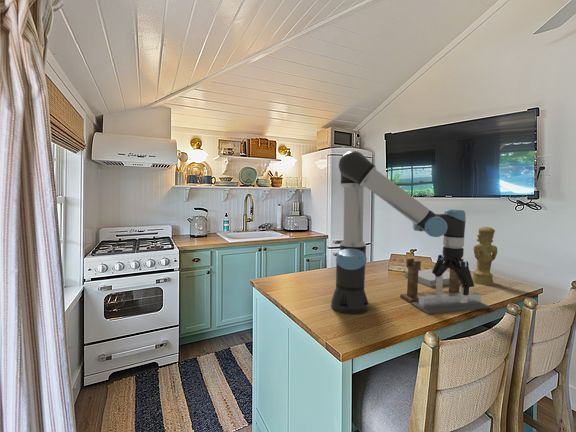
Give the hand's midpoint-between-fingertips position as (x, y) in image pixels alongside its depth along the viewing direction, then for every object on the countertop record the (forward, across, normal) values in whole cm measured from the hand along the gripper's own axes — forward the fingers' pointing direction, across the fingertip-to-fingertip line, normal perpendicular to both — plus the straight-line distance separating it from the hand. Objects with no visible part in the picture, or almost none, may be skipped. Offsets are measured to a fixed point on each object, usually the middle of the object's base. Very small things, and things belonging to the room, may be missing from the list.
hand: (450, 296), depth 122 cm
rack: (+4, +10, 0) cm, 11 cm away
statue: (+4, +25, -43) cm, 50 cm away
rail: (+3, 0, 0) cm, 3 cm away
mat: (+4, 0, 0) cm, 4 cm away
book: (+5, +34, -20) cm, 40 cm away
